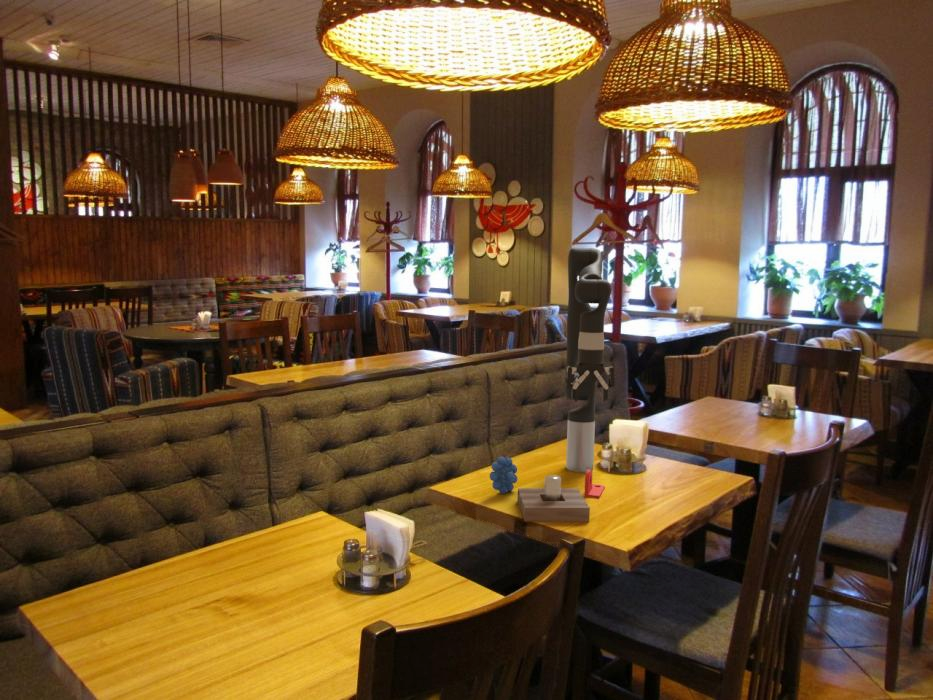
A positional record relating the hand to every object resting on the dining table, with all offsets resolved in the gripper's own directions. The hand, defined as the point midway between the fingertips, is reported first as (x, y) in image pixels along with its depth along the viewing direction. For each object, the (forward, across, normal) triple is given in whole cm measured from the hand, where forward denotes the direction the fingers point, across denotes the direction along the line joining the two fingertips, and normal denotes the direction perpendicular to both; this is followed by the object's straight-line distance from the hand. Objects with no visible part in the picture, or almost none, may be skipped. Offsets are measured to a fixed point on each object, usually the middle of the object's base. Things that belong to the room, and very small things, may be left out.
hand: (589, 401), depth 230 cm
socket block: (+30, +12, +11) cm, 34 cm away
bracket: (+30, -4, -7) cm, 32 cm away
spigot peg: (+30, +12, +11) cm, 34 cm away
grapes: (+30, +24, -5) cm, 39 cm away
